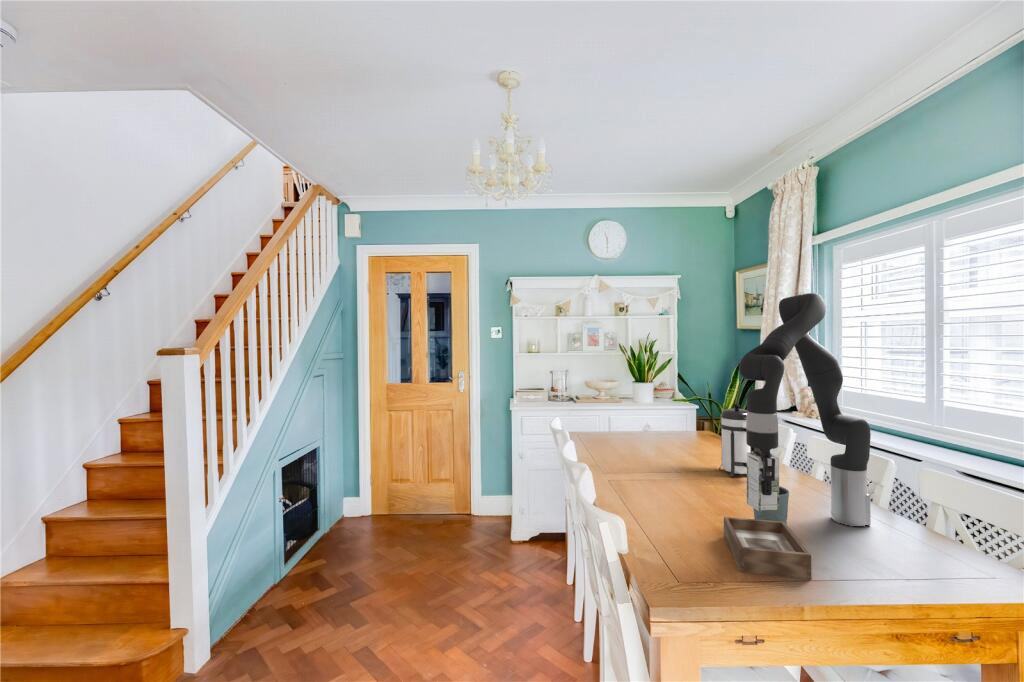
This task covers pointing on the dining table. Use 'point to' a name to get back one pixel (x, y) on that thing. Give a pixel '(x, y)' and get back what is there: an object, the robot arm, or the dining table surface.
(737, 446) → the coffee press
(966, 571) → the dining table surface
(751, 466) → the syrup box
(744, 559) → the brown wooden shallow tray
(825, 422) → the robot arm
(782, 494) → the blue-grey cup
